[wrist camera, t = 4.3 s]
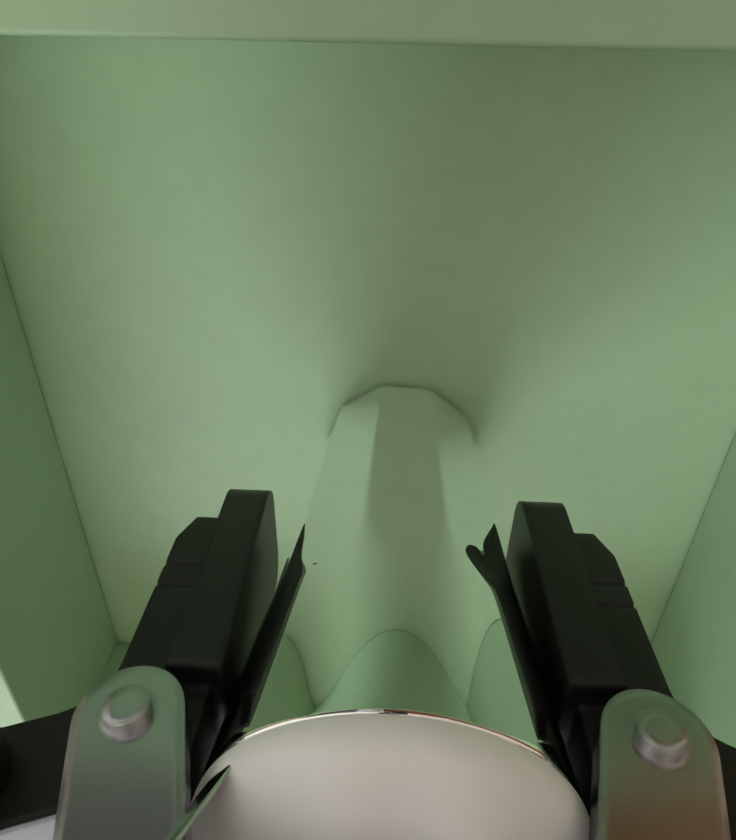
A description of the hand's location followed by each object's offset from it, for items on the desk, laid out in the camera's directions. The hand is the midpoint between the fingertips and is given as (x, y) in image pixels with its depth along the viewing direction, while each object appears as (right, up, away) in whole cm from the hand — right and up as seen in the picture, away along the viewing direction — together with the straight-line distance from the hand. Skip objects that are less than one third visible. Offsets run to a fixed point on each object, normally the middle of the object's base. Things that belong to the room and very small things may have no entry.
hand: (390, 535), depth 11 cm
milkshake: (0, +2, +3) cm, 3 cm away
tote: (0, +2, +3) cm, 4 cm away
